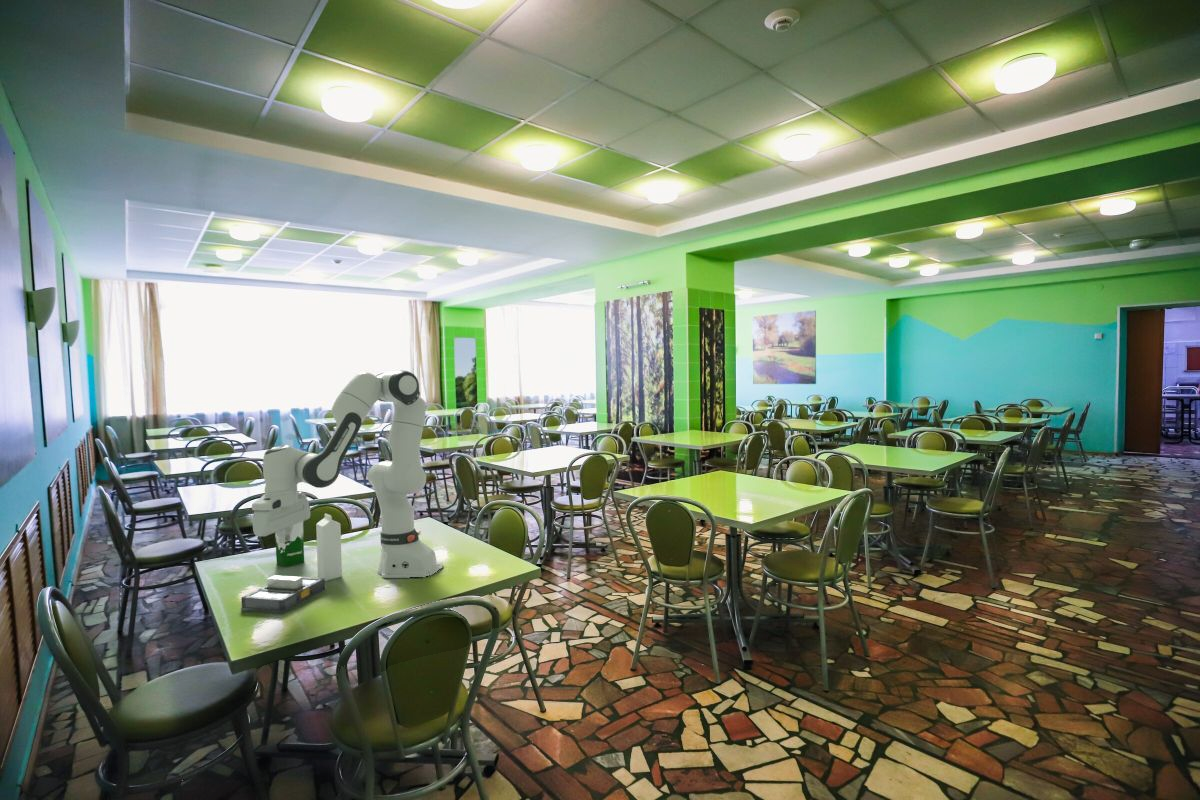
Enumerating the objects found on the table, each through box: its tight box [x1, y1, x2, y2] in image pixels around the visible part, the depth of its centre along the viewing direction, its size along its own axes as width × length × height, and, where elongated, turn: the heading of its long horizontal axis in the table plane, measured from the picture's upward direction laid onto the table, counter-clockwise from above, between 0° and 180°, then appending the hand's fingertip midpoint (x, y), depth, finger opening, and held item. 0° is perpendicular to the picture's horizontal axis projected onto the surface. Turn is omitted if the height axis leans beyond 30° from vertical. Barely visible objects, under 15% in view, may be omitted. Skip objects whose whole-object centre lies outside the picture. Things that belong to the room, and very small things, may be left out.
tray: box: [240, 575, 326, 615], centre depth 177 cm, size 15×19×4 cm
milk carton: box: [274, 521, 305, 568], centre depth 213 cm, size 9×9×20 cm
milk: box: [315, 513, 343, 582], centre depth 197 cm, size 6×6×22 cm
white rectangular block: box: [266, 575, 303, 591], centre depth 177 cm, size 10×3×6 cm, turn 79°
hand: (285, 541), depth 177 cm, fingers closed
